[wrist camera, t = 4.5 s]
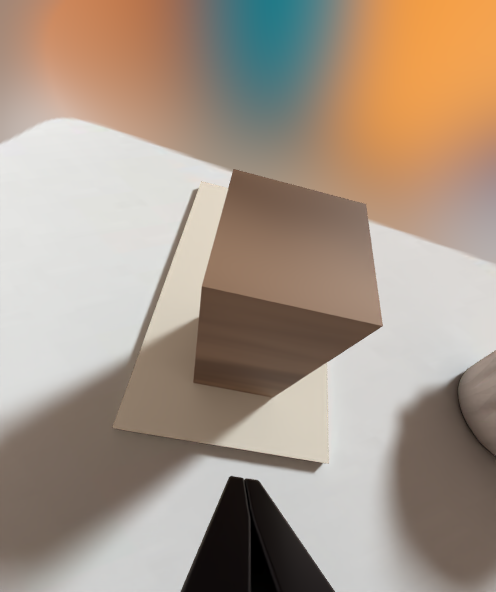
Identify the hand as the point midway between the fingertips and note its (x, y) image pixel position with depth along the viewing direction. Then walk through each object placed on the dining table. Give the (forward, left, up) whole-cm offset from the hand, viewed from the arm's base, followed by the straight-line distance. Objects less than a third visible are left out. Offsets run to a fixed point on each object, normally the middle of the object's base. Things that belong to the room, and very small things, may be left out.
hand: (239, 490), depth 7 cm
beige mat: (+9, +6, -7) cm, 13 cm away
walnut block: (+5, +3, -6) cm, 9 cm away
